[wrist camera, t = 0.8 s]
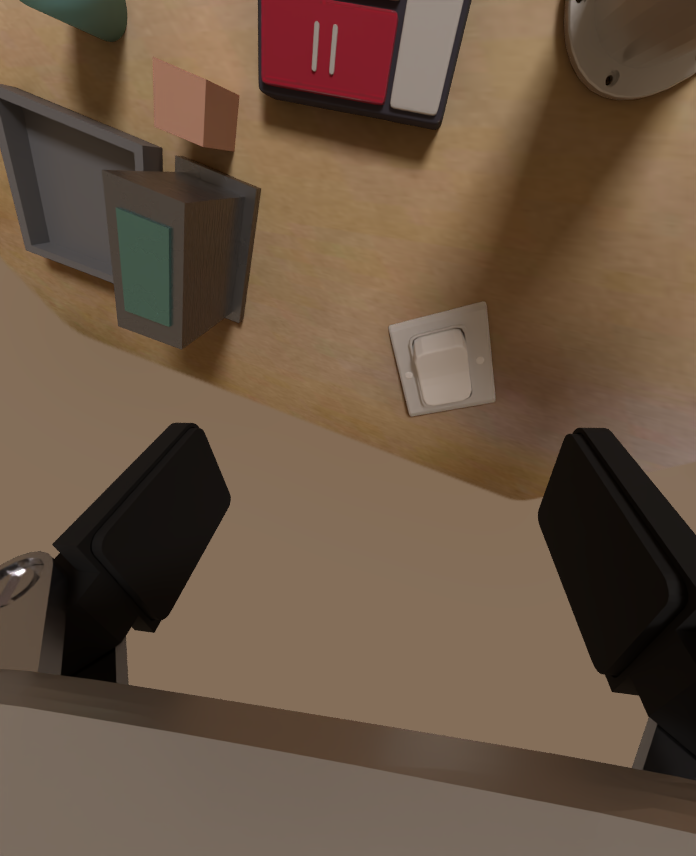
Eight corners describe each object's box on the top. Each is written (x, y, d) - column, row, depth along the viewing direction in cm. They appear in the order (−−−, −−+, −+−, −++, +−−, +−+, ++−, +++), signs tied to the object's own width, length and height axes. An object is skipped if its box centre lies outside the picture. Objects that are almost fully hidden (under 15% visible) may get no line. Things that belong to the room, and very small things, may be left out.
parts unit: (181, 155, 33) (80, 145, 23) (261, 188, 33) (196, 192, 23) (179, 295, 41) (105, 332, 31) (243, 319, 42) (190, 363, 32)
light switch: (490, 306, 34) (500, 413, 40) (483, 297, 37) (493, 397, 43) (385, 332, 37) (409, 428, 43) (388, 322, 40) (410, 412, 47)
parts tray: (15, 87, 31) (-17, 79, 29) (162, 147, 32) (142, 145, 30) (49, 246, 40) (25, 250, 38) (164, 289, 41) (148, 296, 39)
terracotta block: (195, 76, 29) (152, 56, 24) (239, 95, 29) (205, 79, 25) (193, 134, 32) (154, 126, 27) (234, 151, 32) (203, 146, 27)
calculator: (250, -168, 20) (503, -136, 19) (277, -117, 23) (492, -87, 22) (253, 89, 27) (440, 124, 26) (274, 100, 30) (439, 131, 29)
